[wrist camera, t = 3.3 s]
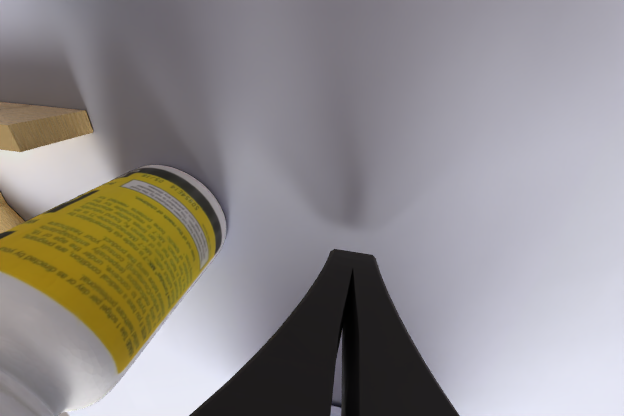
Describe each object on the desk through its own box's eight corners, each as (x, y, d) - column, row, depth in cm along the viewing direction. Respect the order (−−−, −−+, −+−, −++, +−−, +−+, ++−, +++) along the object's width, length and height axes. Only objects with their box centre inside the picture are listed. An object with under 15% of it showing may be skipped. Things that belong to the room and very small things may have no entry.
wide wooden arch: (85, 110, 10) (7, 125, 8) (142, 274, 14) (100, 314, 12) (-72, 94, 11) (-180, 103, 9) (23, 252, 15) (-35, 285, 13)
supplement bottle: (141, 136, 10) (-443, 340, 3) (248, 209, 11) (2, 519, 4) (115, 220, 12) (-240, 447, 5) (204, 274, 13) (2, 542, 6)
